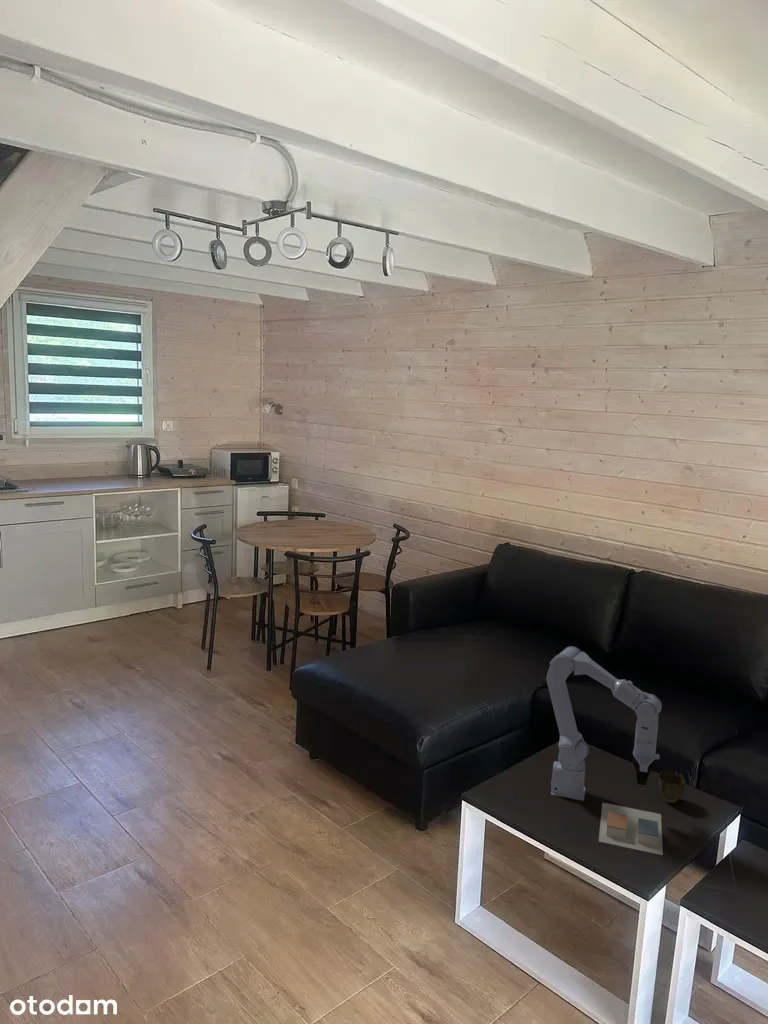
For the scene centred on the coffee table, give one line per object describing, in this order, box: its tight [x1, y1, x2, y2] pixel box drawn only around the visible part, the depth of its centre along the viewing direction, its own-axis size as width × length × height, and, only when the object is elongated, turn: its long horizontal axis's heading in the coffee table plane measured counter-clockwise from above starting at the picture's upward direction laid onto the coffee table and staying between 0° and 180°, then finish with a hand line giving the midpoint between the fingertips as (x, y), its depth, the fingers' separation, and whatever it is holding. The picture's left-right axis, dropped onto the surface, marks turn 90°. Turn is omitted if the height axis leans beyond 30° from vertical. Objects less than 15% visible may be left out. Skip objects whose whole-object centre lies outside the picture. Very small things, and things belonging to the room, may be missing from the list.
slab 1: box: [606, 812, 627, 840], centre depth 197 cm, size 5×3×7 cm
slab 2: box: [637, 818, 658, 846], centre depth 195 cm, size 5×3×7 cm
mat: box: [598, 802, 664, 856], centre depth 199 cm, size 16×20×1 cm
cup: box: [658, 770, 687, 804], centre depth 213 cm, size 8×7×8 cm
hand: (641, 783), depth 204 cm, fingers closed
